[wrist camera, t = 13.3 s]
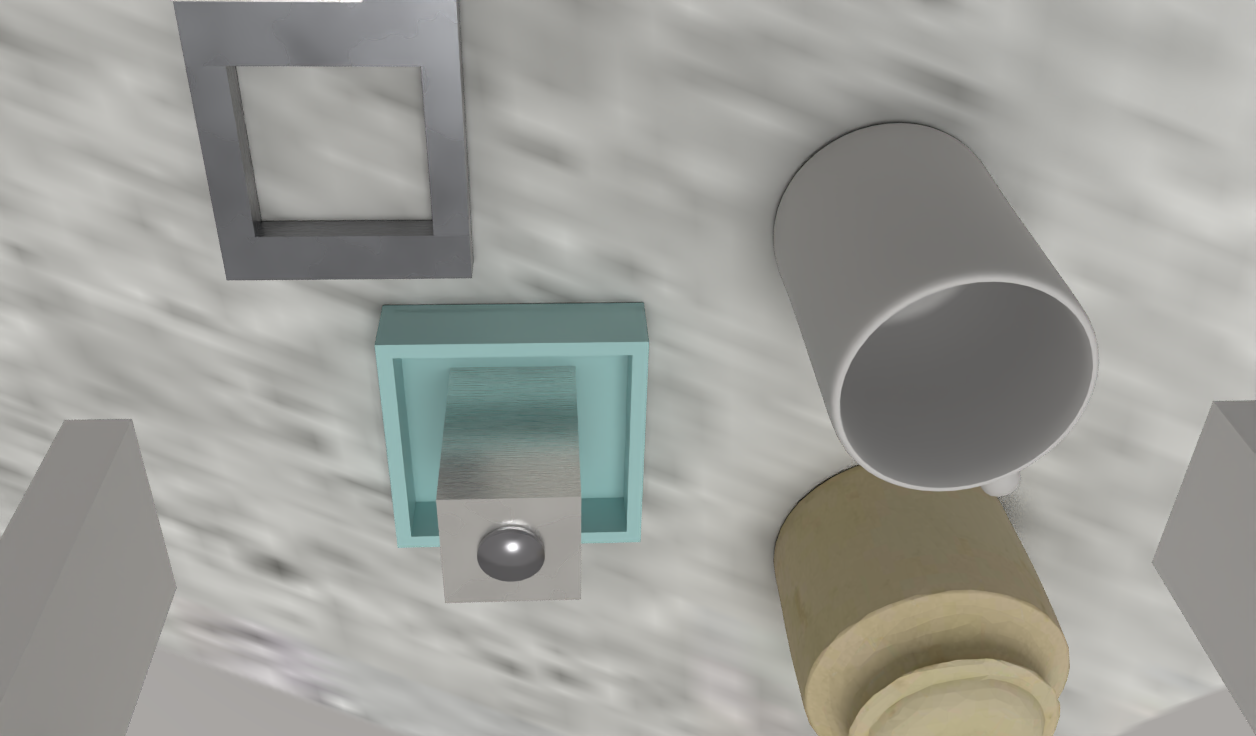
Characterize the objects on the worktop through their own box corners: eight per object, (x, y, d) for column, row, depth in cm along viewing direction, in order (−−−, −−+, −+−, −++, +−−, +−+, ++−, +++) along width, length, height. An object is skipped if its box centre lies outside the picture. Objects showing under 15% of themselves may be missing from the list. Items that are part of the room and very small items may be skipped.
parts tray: (382, 305, 46) (374, 345, 44) (643, 302, 47) (649, 341, 45) (404, 503, 52) (397, 547, 50) (635, 498, 53) (640, 541, 51)
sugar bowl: (1062, 616, 59) (1200, 899, 47) (859, 699, 62) (940, 987, 49) (956, 414, 51) (1088, 690, 39) (729, 519, 54) (786, 808, 42)
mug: (735, 184, 44) (785, 348, 35) (951, 79, 42) (1062, 223, 34) (850, 408, 51) (918, 595, 42) (1043, 324, 49) (1157, 501, 40)
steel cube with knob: (450, 367, 47) (435, 505, 41) (575, 366, 48) (581, 502, 41) (457, 464, 50) (444, 609, 44) (575, 462, 51) (581, 605, 44)
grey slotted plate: (117, -354, 34) (105, -351, 33) (439, -346, 34) (436, -343, 33) (233, 263, 45) (226, 280, 44) (473, 262, 46) (472, 278, 45)
